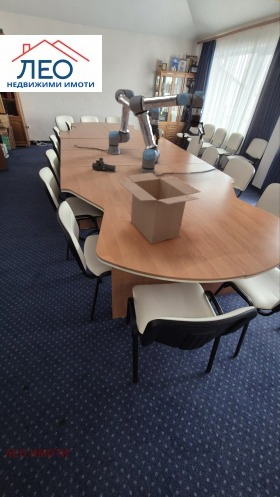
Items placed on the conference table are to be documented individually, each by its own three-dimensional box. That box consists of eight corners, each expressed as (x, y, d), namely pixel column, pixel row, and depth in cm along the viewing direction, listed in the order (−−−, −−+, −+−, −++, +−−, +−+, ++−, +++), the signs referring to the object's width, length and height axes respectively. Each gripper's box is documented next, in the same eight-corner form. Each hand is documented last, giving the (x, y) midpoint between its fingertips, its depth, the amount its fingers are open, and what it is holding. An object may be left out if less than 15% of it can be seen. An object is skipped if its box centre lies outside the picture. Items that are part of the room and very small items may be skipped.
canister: (150, 163, 244) (151, 152, 237) (152, 161, 249) (153, 150, 242) (156, 164, 242) (157, 153, 235) (158, 162, 247) (159, 151, 240)
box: (200, 241, 124) (213, 195, 108) (145, 257, 109) (150, 207, 93) (159, 208, 154) (164, 169, 138) (112, 217, 139) (111, 174, 123)
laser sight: (113, 173, 208) (113, 162, 203) (90, 170, 211) (89, 159, 205) (116, 170, 216) (116, 159, 210) (94, 167, 219) (93, 157, 213)
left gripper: (151, 125, 213) (149, 149, 225) (164, 123, 230) (162, 145, 242) (145, 124, 216) (143, 147, 229) (158, 122, 233) (156, 144, 245)
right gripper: (211, 115, 180) (205, 143, 193) (180, 112, 183) (176, 140, 196) (212, 116, 174) (205, 145, 187) (180, 113, 177) (176, 142, 190)
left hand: (153, 146), depth 235 cm, fingers open, 13 cm apart
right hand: (190, 142), depth 191 cm, fingers open, 13 cm apart
